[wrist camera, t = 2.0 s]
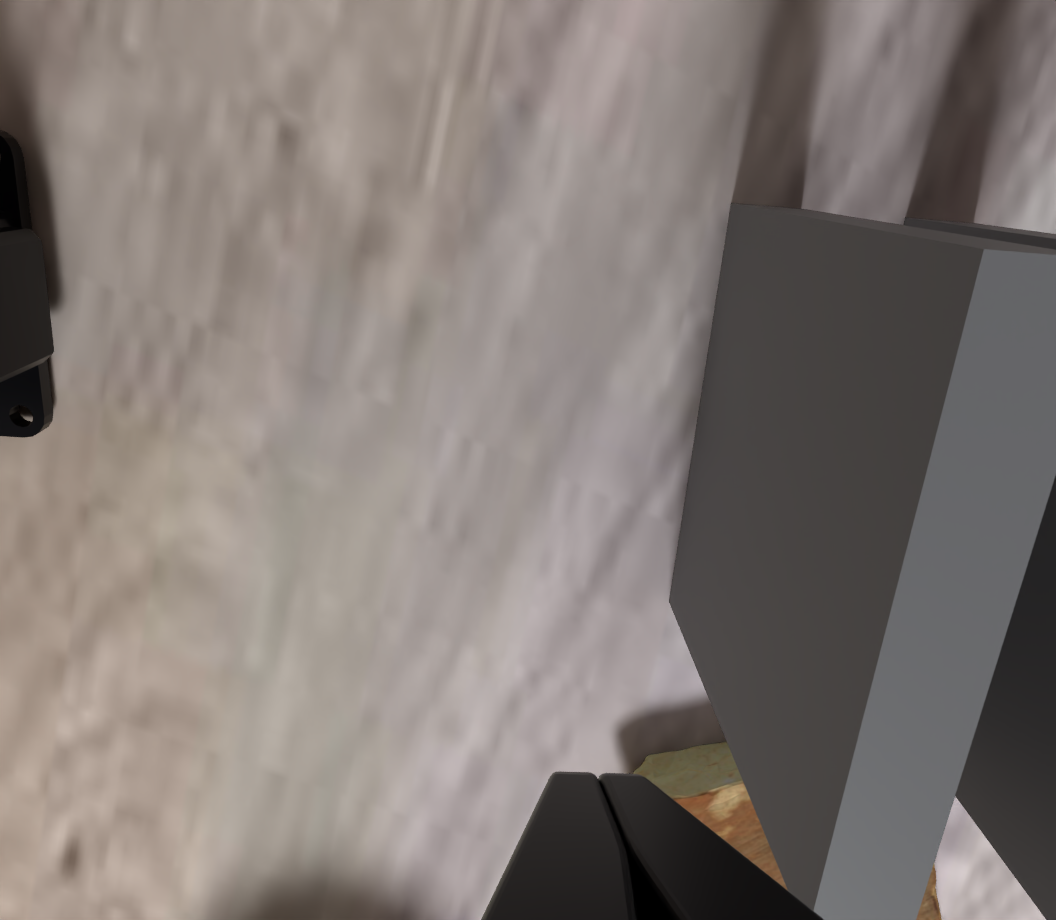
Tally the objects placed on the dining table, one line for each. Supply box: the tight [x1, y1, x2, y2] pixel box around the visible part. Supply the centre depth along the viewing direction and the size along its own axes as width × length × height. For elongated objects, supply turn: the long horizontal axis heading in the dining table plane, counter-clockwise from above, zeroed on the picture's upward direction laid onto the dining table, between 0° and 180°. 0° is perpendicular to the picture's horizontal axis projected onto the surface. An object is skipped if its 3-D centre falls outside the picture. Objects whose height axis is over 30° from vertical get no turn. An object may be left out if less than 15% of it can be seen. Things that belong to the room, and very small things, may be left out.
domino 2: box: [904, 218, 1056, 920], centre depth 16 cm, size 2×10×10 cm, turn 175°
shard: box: [633, 742, 942, 920], centre depth 25 cm, size 13×9×2 cm
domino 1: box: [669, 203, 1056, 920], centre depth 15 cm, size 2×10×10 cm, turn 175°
